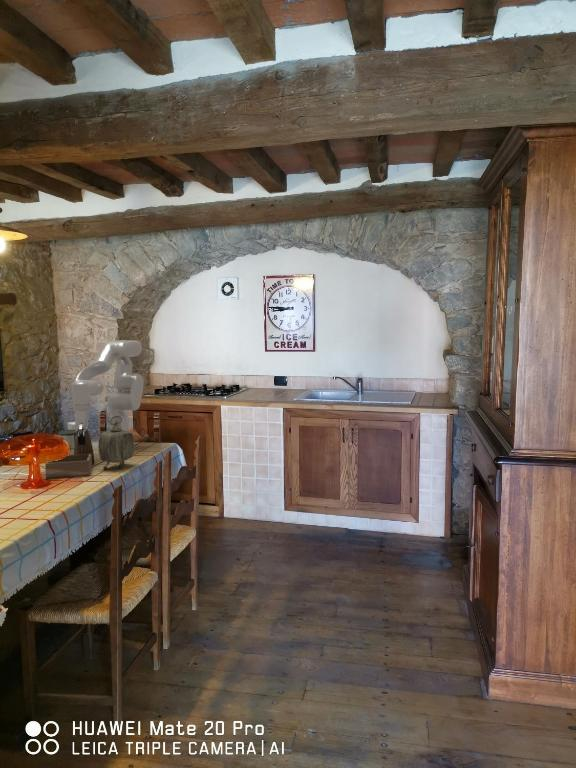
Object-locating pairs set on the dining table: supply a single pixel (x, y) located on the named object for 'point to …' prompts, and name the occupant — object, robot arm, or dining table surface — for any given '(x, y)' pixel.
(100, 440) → the tabletop clock
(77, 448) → the brown tall tapered piece
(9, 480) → the dining table surface
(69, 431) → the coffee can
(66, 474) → the walled box
